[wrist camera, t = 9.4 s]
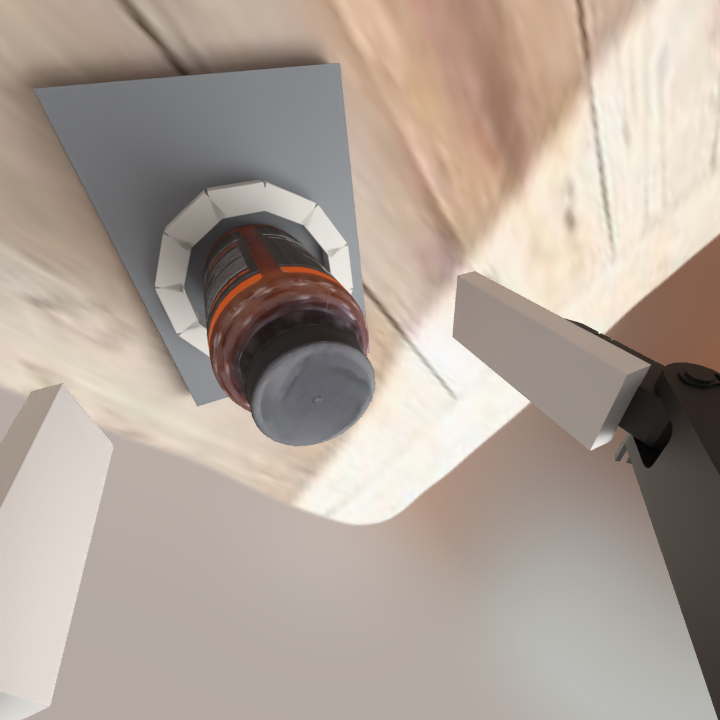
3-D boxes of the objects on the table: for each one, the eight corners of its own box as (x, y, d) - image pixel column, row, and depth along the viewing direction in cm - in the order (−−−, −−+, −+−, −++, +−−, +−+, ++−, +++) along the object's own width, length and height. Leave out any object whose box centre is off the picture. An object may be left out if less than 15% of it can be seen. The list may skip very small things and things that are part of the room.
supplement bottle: (197, 319, 19) (198, 479, 10) (207, 207, 16) (221, 292, 8) (300, 330, 22) (371, 463, 13) (323, 236, 19) (429, 323, 11)
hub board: (44, 91, 13) (19, 84, 12) (331, 66, 16) (348, 58, 15) (197, 395, 23) (197, 418, 21) (363, 344, 26) (376, 360, 24)
